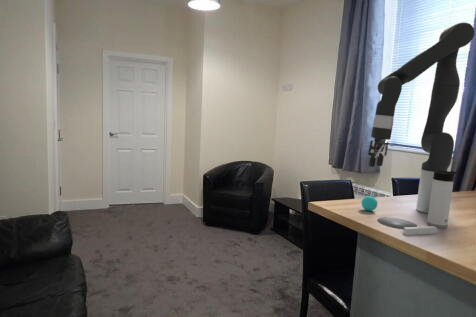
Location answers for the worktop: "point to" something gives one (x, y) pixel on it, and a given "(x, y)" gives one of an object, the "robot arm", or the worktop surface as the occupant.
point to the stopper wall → (420, 230)
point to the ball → (369, 203)
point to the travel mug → (440, 199)
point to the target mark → (396, 222)
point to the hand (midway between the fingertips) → (375, 166)
